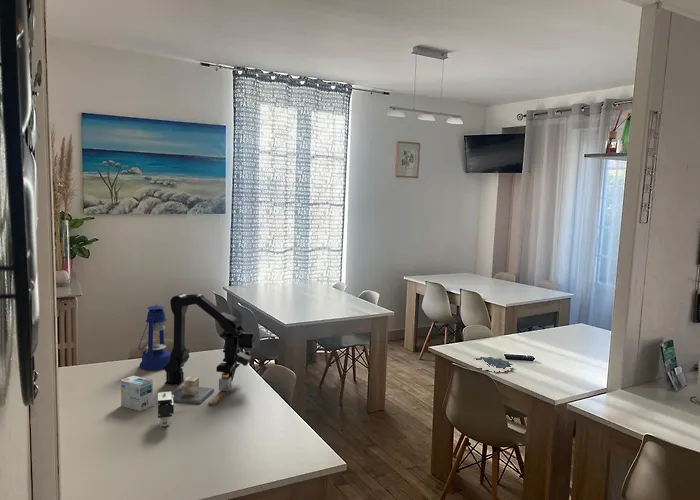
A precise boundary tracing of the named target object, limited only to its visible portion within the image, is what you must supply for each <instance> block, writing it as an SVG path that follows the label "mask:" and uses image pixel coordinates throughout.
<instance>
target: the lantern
mask: <svg viewBox="0 0 700 500" xmlns="http://www.w3.org/2000/svg"><path fill="white" fill-rule="evenodd" d="M165 308H166V307H165V306H164V305H161V304H155V305H150V306H148V307H147V310H148V311H147V316H146V320H145V323H146V325H145V328H144V331H143V333H142V336H141V339H140V342H139V344H138V348H139V350H140V352H141V353H142V355H141V362H140V363H139V369H140V370H142V371H146V372H147V371H148V372H156V371H157V372H159V371H165V370H164V366H166V365H167V364H168V363H169V360H170V355H171V352H169V351H168V350H164V349H165V348H167V345H166V344H165V337H166V336H167V335H168V333H165V329H166V326H165V325H164V324H165V323H164V322H167V319H166V315H165V314H166V313H165V311H164V309H165ZM146 330H147V332H146ZM158 331H159V335H158V334H156V333H154V332H158ZM147 333H148V334H147ZM145 335H147V337H146V336H145ZM154 335H155V336H157V337H159V338H157V339H156V340H154ZM143 337H144V338H145V339H146V340H147V343H146V344H144V345H143V347H141V348H140V346H141V343H142V341H143ZM156 341H159V343H158V342H156ZM155 342H156V343H155ZM146 345H147V346H146ZM144 348H146V349H147V350H144Z"/></svg>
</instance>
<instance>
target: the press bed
mask: <svg viewBox="0 0 700 500" xmlns="http://www.w3.org/2000/svg"><path fill="white" fill-rule="evenodd" d="M214 392H215V388H213V387H205V386H199V391H198V392H197V393H196V394H195V395H186V394H184V384H183V385H181V387H179V388H178V389H177V390H175V391H174V392H173V393H171V395H174V398H173V403H184V404H192V405H194V404H195V405H201V404H202V403H203V402H204V401H206V400H207V399H208V397H209V398H210V396H211V395H212V394H213V393H214ZM230 392H231V389H230V390H229V391H219V392H217V394H215V395H214V396H213V397H212V398H211V399H210V400H209V401H208V402H207V406H217V405H218V404H219V403H220V402H221V401H222V400H223V399H224V398H225V397H226V396H227V395H228V394H229V393H230Z"/></svg>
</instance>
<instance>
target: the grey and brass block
mask: <svg viewBox="0 0 700 500" xmlns="http://www.w3.org/2000/svg"><path fill="white" fill-rule="evenodd" d="M231 379H232V377H230V376H229V373H225V372H221V377H219V379H218V391H219V392H220V391H229V390H230V391H231V389H232V382H231Z"/></svg>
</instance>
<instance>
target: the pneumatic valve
mask: <svg viewBox="0 0 700 500" xmlns="http://www.w3.org/2000/svg"><path fill="white" fill-rule="evenodd" d="M171 394H172V390H167V391H158V392H157V418H158V419H159V427H160V428H162V427H169V426H170V425H171V423H170V422H171V421H170V419H171V417H173V415H174V414H175V411H174V407H175V405H174V403H175V402H173V398H174V395H171Z"/></svg>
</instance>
